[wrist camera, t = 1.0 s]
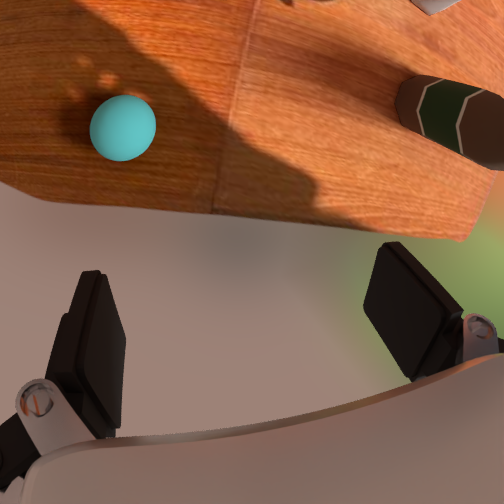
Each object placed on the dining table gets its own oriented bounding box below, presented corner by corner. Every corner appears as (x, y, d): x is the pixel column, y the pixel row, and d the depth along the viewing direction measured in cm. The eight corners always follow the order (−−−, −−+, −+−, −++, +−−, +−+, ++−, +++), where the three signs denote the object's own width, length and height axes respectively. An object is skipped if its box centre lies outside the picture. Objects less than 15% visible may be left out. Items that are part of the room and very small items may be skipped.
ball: (88, 134, 27) (70, 150, 23) (117, 81, 25) (103, 85, 20) (138, 161, 30) (130, 181, 25) (169, 110, 28) (167, 120, 23)
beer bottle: (415, 145, 35) (570, 246, 16) (381, 102, 32) (567, 189, 12) (447, 105, 33) (604, 181, 13) (417, 61, 29) (601, 116, 10)
